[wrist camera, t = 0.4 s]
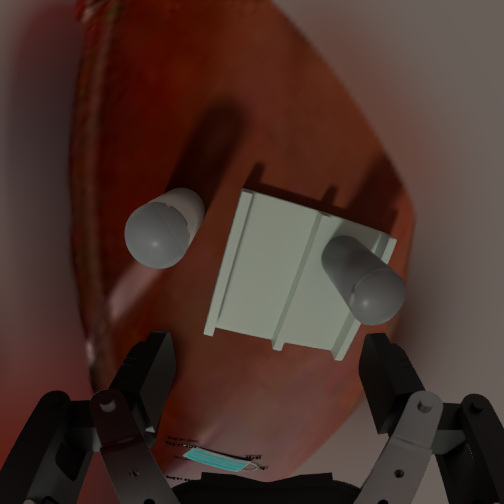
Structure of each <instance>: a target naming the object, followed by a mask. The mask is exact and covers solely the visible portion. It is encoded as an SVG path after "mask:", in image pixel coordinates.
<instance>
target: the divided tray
mask: <svg viewBox="0 0 504 504" xmlns="http://www.w3.org/2000/svg"><path fill="white" fill-rule="evenodd" d="M345 235H346V236H351V237H354V238H355V239H357V240H358V241H359V242H360V243H362V244H363V245H364V246H365V247H367V248H368V249H369V250H370V251H371V252H373V253H374V254H375V255H376V256H377V257H379V258H380V259H381V260H382V261H383V262H384V263H386V264H388V262H389V259H390V257H391V254H392V252H393V249H394V246H395V244H396V241H397V240H396V239H395V238H393V237H391V236H390V235H388V234H387V233H385V232H382V231H379V230H376V229H374V228H371V227H368V226H365V225H362V224H359V223H356V222H353V221H350V220H347V219H344V218H341V217H338V216H335V215H332V214H329V213H326V212H322V211H319V210H316V209H313V208H310V207H306V206H303V205H300V204H297V203H293V202H290V201H287V200H283V199H280V198H277V197H273V196H270V195H266V194H263V193H259V192H256V191H252V190H248V189H245V188H242V190H241V194H240V197H239V201H238V204H237V208H236V211H235V215H234V219H233V222H232V226H231V229H230V233H229V237H228V240H227V244H226V248H225V251H224V255H223V259H222V262H221V266H220V270H219V274H218V277H217V281H216V285H215V289H214V293H213V296H212V300H211V304H210V308H209V312H208V316H207V320H206V325H205V330H204V334H205V335H209V336H213V333H214V329H215V327H217V328H222V329H226V330H230V331H234V332H239V333H243V334H248V335H252V336H257V337H262V338H267V339H271V341H272V348H273V349H274V350H279V351H281V350H282V347H283V345H284V343H285V342H287V343H292V344H297V345H303V346H308V347H314V348H320V349H326V350H331V352H332V355H333V357H334V359H335V360H340V361H342V359H343V357H344V355H345V354H346V352H347V350H348V348H349V346H350V344H351V342H352V340H353V338H354V336H355V334H356V332H357V330H358V328H359V326H360V324H361V322H359V321H358V320H357V319H356V318H355V317H354V315H353V314H352V312H351V310H350V309H349V307H348V306H347V304H346V303H345V301H344V300H343V298H342V296H341V295H340V293H339V292H338V290H337V289H336V287H335V286H334V284H333V283H332V281H331V280H330V278H329V277H328V275H327V274H326V272H325V271H324V269H323V267H322V263H321V257H322V252H323V250H324V248H325V246H326V245H327V244H328V243H329V242H330V241H331V240H332V239H334V238H336V237H339V236H345Z"/></svg>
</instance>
